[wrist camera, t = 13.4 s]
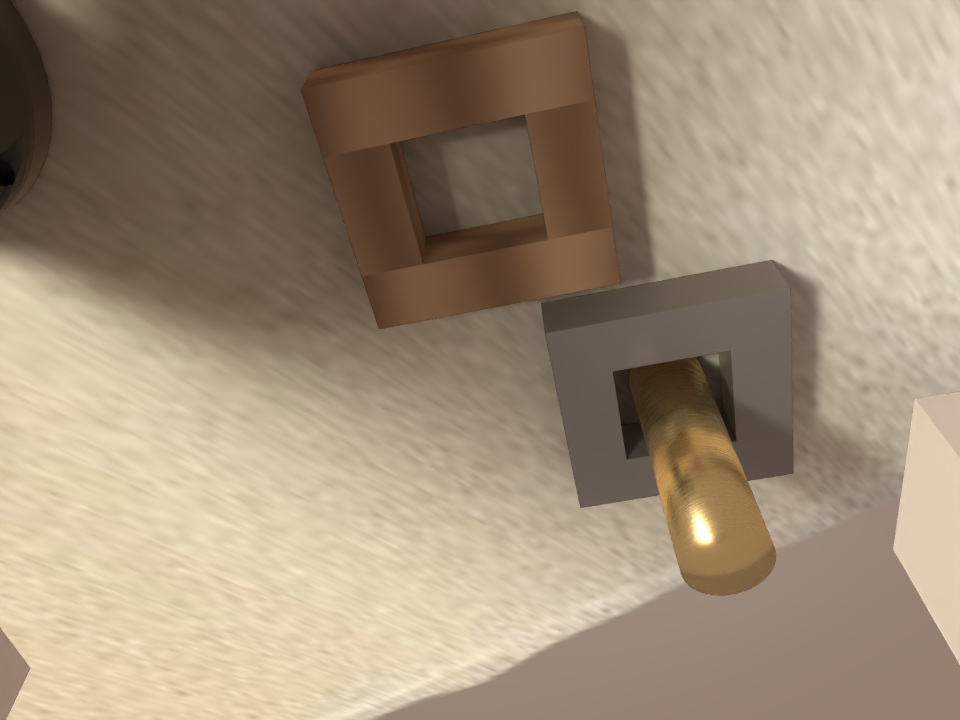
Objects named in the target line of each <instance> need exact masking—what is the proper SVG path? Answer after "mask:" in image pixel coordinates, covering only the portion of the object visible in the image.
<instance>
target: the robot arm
mask: <svg viewBox="0 0 960 720" xmlns="http://www.w3.org/2000/svg"><path fill="white" fill-rule="evenodd" d="M51 127H52V111H51V99H50V93H49V87H48V82H47V78H46V74H45V71H44V68H43V64H42V61H41V59H40V56H39V53H38V51H37V48H36V46H35V44H34V42H33V39H32V37H31V35H30V33H29V31H28V29H27V27H26V26H25V24H24V22H23V20H22V19H21V17H20V15H19V14H18V12H17V10H16V9H15V7H14V6H13V5H12V3H11V2H10V0H0V216H2V215H3V214H4V213H5V212H6V211H7V210H8V209H10V208H11V207H12V206H13V205H14V204H15V203H16V202H18V201H19V200H20V199H21V198H22V197H23V196H24V195H25V193H26V192H27V191H28V190H29V189H30V187H31V186H32V185H33V183H34V181H35V180H36V178H37V177H38V175H39V173H40V171H41V169H42V166H43V164H44V161H45V159H46V155H47V152H48V148H49V143H50V137H51ZM893 550H894V552H895V554H896V555H897V557H898V558H899V560H900V562H901V564H902V566H903V567H904V569H905V571H906V573H907V574H908V576H909V577H910V579H911V581H912V583H913V584H914V586H915V588H916V589H917V591H918V593H919V595H920V597H921V598H922V600H923V602H924V604H925V605H926V607H927V609H928V610H929V612H930V614H931V616H932V617H933V619H934V621H935V622H936V624H937V626H938V628H939V629H940V631H941V633H942V635H943V636H944V638H945V640H946V641H947V643H948V645H949V647H950V648H951V650H952V652H953V654H954V655H955V657H956V659H957V660H958V662H959V664H960V392H955V393H948V394H942V395H935V396H928V397H922V398H915V401H914V408H913V415H912V422H911V429H910V436H909V443H908V450H907V457H906V464H905V471H904V478H903V485H902V492H901V499H900V506H899V513H898V520H897V527H896V534H895V541H894V547H893ZM29 670H30V667H29V665H28V664H27V663H26V661H25V660H24V659H23V657H22V656H21V655H20V653H19V652H18V651H17V649H16V648H15V647H14V645H13V644H12V643H11V641H10V640H9V639H8V637H7V636H6V635H5V633H4V632H3V630H2V629H1V628H0V720H6V719H7V716H8V714H9V712H10V710H11V708H12V706H13V704H14V702H15V700H16V698H17V695H18V693H19V691H20V689H21V687H22V685H23V683H24V681H25V679H26V677H27V674H28V672H29Z"/></svg>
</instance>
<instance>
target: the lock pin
mask: <svg viewBox="0 0 960 720" xmlns="http://www.w3.org/2000/svg"><path fill="white" fill-rule="evenodd" d="M629 383H630V387H631V391H632V394H633V398H634V402H635V405H636V409H637V413H638V417H639V420H640V424H641V428H642V431H643V435H644V439H645V442H646V446H647V450H648V454H649V457H650V461H651V465H652V468H653V472H654V476H655V479H656V483H657V487H658V491H659V494H660V498H661V502H662V505H663V509H664V513H665V516H666V520H667V524H668V528H669V531H670V535H671V539H672V542H673V546H674V550H675V553H676V557H677V561H678V565H679V568H680V572H681V575H682V577H683V579H684V581H685V582H686V583H687V584H688V585H689V586H690V587H692V588H693V589H695V590H697V591H699V592H701V593H705V594H710V595H731V594H737V593H740V592H743V591H746V590H748V589H751V588H752V587H754V586H756V585H758V584H759V583H760V582H762V581H763V580H764V579H765V578H766V577H767V576H768V575H769V574H770V573H771V571H772V569H773V568H774V565H775V562H776V551H775V548H774V545H773V543H772V540H771V538H770V535H769V533H768V530H767V528H766V525H765V523H764V520H763V518H762V515H761V513H760V510H759V508H758V506H757V503H756V501H755V498H754V496H753V493H752V491H751V488H750V486H749V483H748V481H747V478H746V476H745V473H744V471H743V468H742V466H741V464H740V461H739V459H738V456H737V454H736V451H735V449H734V446H733V444H732V441H731V439H730V436H729V434H728V431H727V429H726V426H725V424H724V422H723V419H722V417H721V414H720V412H719V409H718V407H717V404H716V402H715V399H714V397H713V394H712V392H711V389H710V387H709V384H708V382H707V379H706V377H705V375H704V372H703V370H702V367H701V365H700V362H699V360H698V358H697V357H691V358H686V359H680V360H674V361H669V362H663V363H658V364H652V365H646V366H641V367H635V368H631V370H630V373H629Z"/></svg>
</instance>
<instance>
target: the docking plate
mask: <svg viewBox="0 0 960 720" xmlns="http://www.w3.org/2000/svg"><path fill="white" fill-rule="evenodd" d="M541 307H542V314H543V321H544V329H545V335H546V340H547V345H548V350H549V355H550V360H551V365H552V370H553V375H554V380H555V385H556V390H557V395H558V400H559V404H560V409H561V414H562V419H563V424H564V429H565V434H566V439H567V444H568V449H569V454H570V459H571V464H572V469H573V474H574V479H575V484H576V489H577V494H578V499H579V504H580V508H583V507H589V506H595V505H602V504H608V503H614V502H620V501H626V500H633V499H639V498H645V497H651V496H657V495H660V494H659V491H658V487H657V483H656V479H655V476H654V472H653V468H652V465H651V461H650V457H649V454H648V450H647V446H646V442H645V439H644V435H643V431H642V428H641V424H640V423H635V424H629V425H623V426H621V422H620V415H619V409H618V402H617V396H616V389H615V383H614V377H613V371H618V370H624V369H629V368H635V367H641V366H646V365H652V364H658V363H663V362H669V361H674V360H680V359H686V358H691V357H697V356H702V355H708V354H714V353H719V359H720V373H721V387H722V401H723V409H719V412H720V414H721V417H722V419H723V422H724V424H725V426H726V429H727V431H728V434H729V436H730V439H731V441H732V444H733V446H734V449H735V451H736V454H737V456H738V459H739V461H740V464H741V466H742V468H743V471H744V473H745V476H746V478H747V481H750V480H756V479H762V478H769V477H775V476H781V475H787V474H793V411H792V349H791V288H790V286H789V285H788V283H787V282H786V280H785V279H784V277H783V276H782V274H781V273H780V271H779V270H778V268H777V266H776V265H775V263H774V262H773V260H769V261H764V262H759V263H754V264H748V265H743V266H738V267H732V268H727V269H722V270H716V271H711V272H706V273H701V274H695V275H690V276H685V277H679V278H674V279H669V280H664V281H658V282H653V283H648V284H642V285H637V286H632V287H627V288H621V289H616V290H611V291H605V292H600V293H595V294H589V295H584V296H579V297H574V298H568V299H563V300H558V301H552V302H547V303H542V304H541Z"/></svg>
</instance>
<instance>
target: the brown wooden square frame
mask: <svg viewBox="0 0 960 720" xmlns="http://www.w3.org/2000/svg"><path fill="white" fill-rule="evenodd" d="M301 92H302V95H303V98H304V101H305V104H306V107H307V110H308V113H309V116H310V119H311V122H312V125H313V128H314V131H315V134H316V138H317V141H318V144H319V147H320V150H321V153H322V156H323V159H324V162H325V165H326V168H327V171H328V174H329V177H330V180H331V184H332V187H333V190H334V193H335V196H336V199H337V202H338V205H339V208H340V211H341V214H342V217H343V220H344V223H345V226H346V230H347V233H348V236H349V239H350V242H351V245H352V248H353V251H354V254H355V257H356V260H357V263H358V266H359V269H360V272H361V276H362V279H363V282H364V285H365V288H366V291H367V294H368V297H369V300H370V303H371V306H372V309H373V312H374V315H375V318H376V321H377V325H378V328H379V329H383V328H388V327H393V326H399V325H404V324H409V323H414V322H420V321H425V320H430V319H435V318H441V317H446V316H451V315H457V314H462V313H467V312H472V311H478V310H483V309H488V308H493V307H499V306H504V305H509V304H515V303H520V302H525V301H530V300H536V299H541V298H546V297H552V296H557V295H562V294H567V293H573V292H578V291H583V290H588V289H594V288H599V287H604V286H610V285H615V284H620V277H619V270H618V263H617V256H616V249H615V242H614V235H613V227H612V220H611V213H610V206H609V199H608V192H607V184H606V177H605V170H604V163H603V156H602V149H601V142H600V134H599V127H598V120H597V113H596V106H595V99H594V92H593V84H592V77H591V70H590V63H589V56H588V49H587V41H586V34H585V27H584V25H583V23H582V21H581V19H580V17H579V15H578V13H577V11H576V12H572V13H568V14H563V15H559V16H554V17H550V18H545V19H541V20H537V21H532V22H528V23H523V24H519V25H514V26H510V27H506V28H501V29H497V30H492V31H488V32H483V33H479V34H474V35H470V36H466V37H461V38H457V39H452V40H448V41H443V42H439V43H435V44H430V45H426V46H421V47H417V48H412V49H408V50H404V51H399V52H395V53H390V54H386V55H381V56H377V57H372V58H368V59H364V60H359V61H355V62H350V63H346V64H341V65H337V66H333V67H328V68H324V69H319V70H315V71H312V72H311V74H310V76H309V77H308V79H307V81H306V83H305V84H304V86H303V88H302V89H301ZM520 115H525V118H526V123H527V128H528V134H529V139H530V144H531V150H532V155H533V161H534V166H535V171H536V177H537V182H538V187H539V193H540V198H541V203H542V209H543V214H539V215H534V216H529V217H525V218H520V219H515V220H510V221H505V222H500V223H495V224H490V225H485V226H480V227H475V228H470V229H465V230H460V231H455V232H450V233H445V234H440V235H435V236H430V237H426V236H425V232H424V229H423V225H422V221H421V218H420V214H419V210H418V207H417V203H416V199H415V196H414V192H413V188H412V185H411V181H410V177H409V174H408V170H407V166H406V162H405V159H404V155H403V151H402V148H401V144H400V141H403V140H408V139H412V138H417V137H422V136H426V135H431V134H436V133H441V132H445V131H450V130H455V129H459V128H464V127H469V126H473V125H478V124H483V123H487V122H492V121H497V120H501V119H506V118H511V117H515V116H520Z"/></svg>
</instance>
